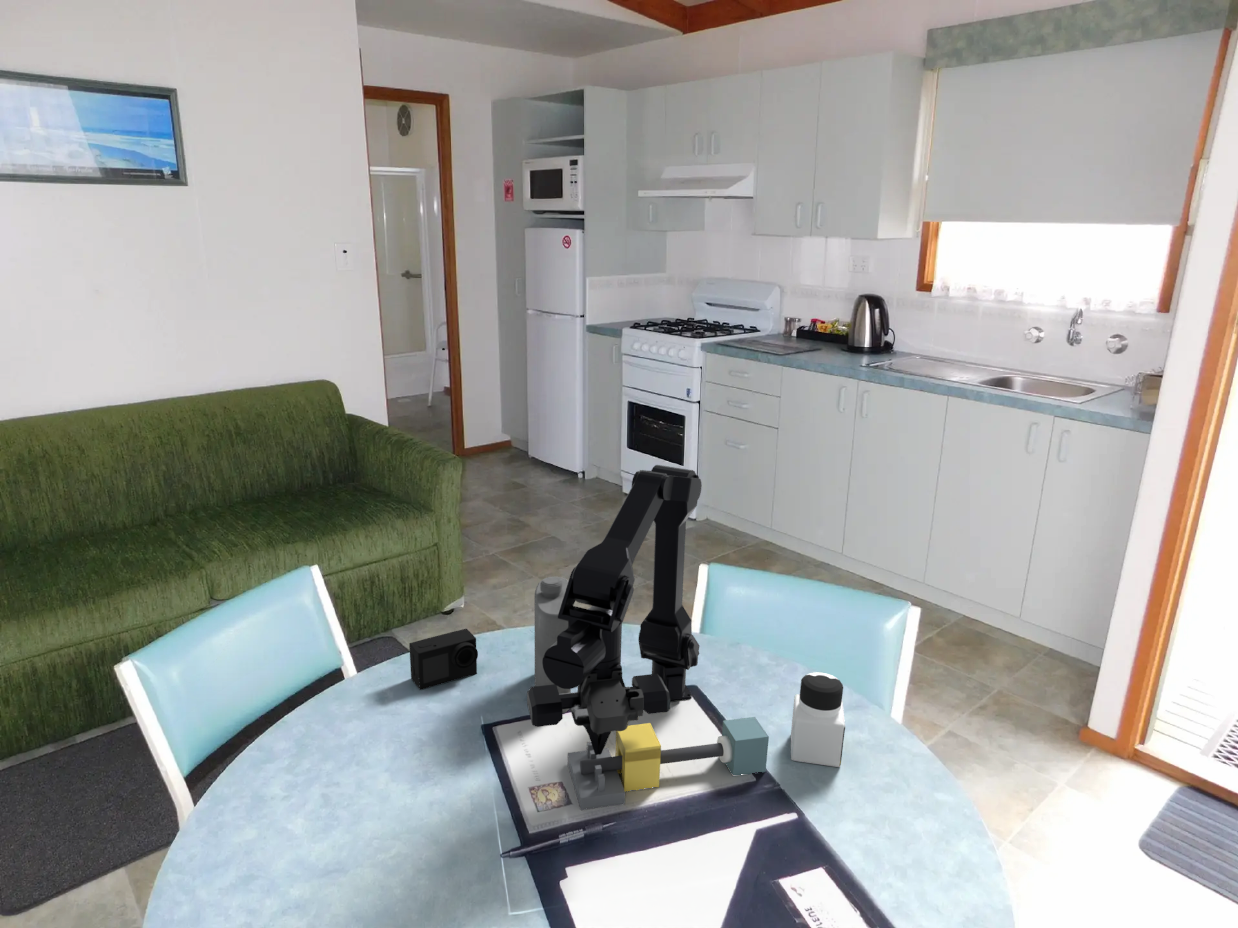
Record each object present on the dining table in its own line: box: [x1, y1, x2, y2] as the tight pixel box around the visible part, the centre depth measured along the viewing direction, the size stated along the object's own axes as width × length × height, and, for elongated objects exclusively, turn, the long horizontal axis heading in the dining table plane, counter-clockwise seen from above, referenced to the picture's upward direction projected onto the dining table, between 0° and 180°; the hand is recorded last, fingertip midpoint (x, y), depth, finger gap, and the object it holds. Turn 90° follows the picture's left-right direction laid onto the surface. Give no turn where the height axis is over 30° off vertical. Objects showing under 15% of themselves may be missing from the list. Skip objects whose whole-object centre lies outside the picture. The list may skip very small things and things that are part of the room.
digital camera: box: [408, 628, 479, 691], centre depth 139 cm, size 10×5×7 cm, turn 123°
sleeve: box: [614, 722, 662, 793], centre depth 115 cm, size 5×5×7 cm
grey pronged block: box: [567, 741, 626, 811], centre depth 114 cm, size 10×6×4 cm, turn 14°
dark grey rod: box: [580, 716, 770, 776], centre depth 116 cm, size 26×5×6 cm, turn 104°
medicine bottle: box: [790, 671, 846, 768], centre depth 122 cm, size 7×7×12 cm
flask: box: [534, 576, 572, 714], centre depth 135 cm, size 15×6×20 cm, turn 5°
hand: (597, 752), depth 113 cm, fingers closed
